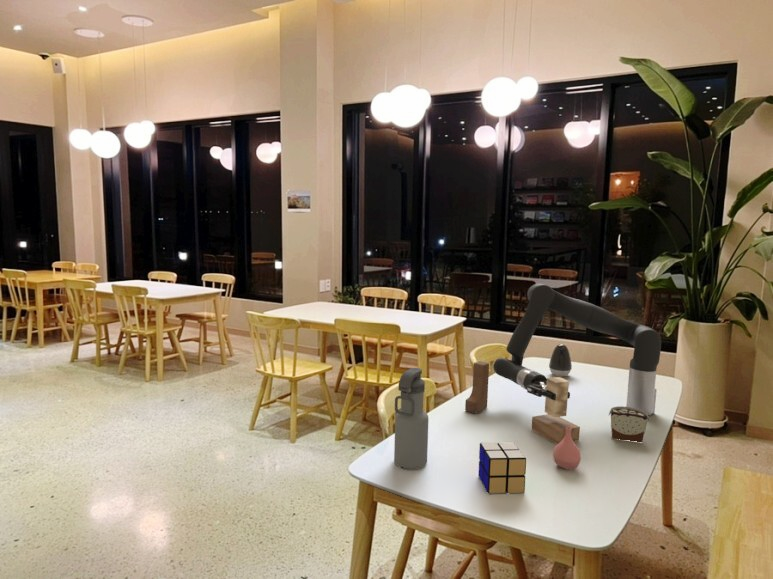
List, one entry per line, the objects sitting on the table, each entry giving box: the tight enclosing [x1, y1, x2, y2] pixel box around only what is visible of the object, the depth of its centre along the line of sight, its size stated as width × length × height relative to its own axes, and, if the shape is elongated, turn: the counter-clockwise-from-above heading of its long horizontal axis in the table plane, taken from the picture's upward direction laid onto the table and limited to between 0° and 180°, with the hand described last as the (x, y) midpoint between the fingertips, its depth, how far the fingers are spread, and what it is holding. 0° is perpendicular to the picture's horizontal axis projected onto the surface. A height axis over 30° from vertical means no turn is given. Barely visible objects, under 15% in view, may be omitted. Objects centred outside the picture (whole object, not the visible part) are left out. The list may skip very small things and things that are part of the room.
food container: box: [608, 405, 651, 443], centre depth 172 cm, size 12×6×10 cm, turn 71°
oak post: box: [544, 376, 570, 418], centre depth 172 cm, size 5×5×12 cm
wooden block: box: [464, 360, 490, 414], centre depth 195 cm, size 9×4×18 cm, turn 138°
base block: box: [531, 413, 581, 445], centre depth 173 cm, size 9×13×5 cm
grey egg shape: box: [548, 343, 573, 378], centre depth 244 cm, size 10×10×15 cm
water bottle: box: [393, 367, 429, 470], centre depth 149 cm, size 10×10×28 cm
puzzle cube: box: [477, 441, 527, 494], centre depth 139 cm, size 10×10×10 cm
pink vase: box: [552, 427, 582, 470], centre depth 149 cm, size 8×8×12 cm
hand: (561, 396), depth 170 cm, fingers closed on oak post, 5 cm apart
